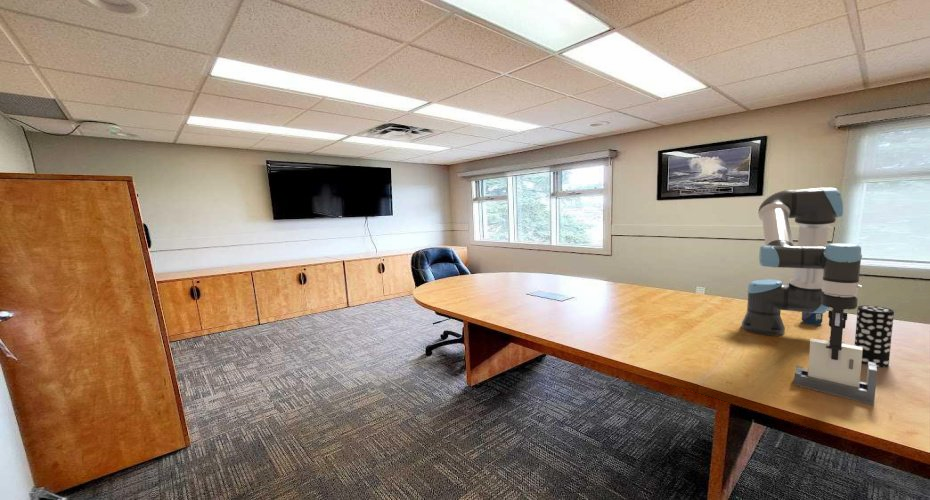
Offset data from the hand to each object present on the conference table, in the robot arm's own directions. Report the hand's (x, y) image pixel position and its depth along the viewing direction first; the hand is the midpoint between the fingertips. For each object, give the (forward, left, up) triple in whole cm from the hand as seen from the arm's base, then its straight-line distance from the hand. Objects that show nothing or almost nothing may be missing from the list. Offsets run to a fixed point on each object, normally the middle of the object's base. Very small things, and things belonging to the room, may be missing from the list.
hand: (833, 366), depth 108 cm
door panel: (0, 0, -5) cm, 5 cm away
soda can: (-8, +73, -8) cm, 74 cm away
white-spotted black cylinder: (+9, +34, -8) cm, 36 cm away
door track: (0, 0, -8) cm, 8 cm away
